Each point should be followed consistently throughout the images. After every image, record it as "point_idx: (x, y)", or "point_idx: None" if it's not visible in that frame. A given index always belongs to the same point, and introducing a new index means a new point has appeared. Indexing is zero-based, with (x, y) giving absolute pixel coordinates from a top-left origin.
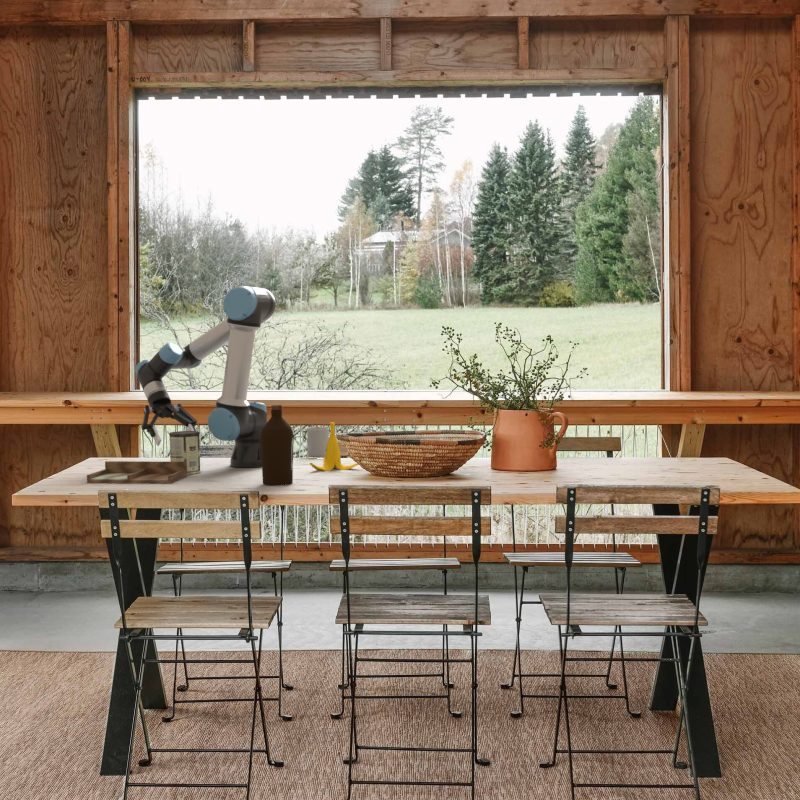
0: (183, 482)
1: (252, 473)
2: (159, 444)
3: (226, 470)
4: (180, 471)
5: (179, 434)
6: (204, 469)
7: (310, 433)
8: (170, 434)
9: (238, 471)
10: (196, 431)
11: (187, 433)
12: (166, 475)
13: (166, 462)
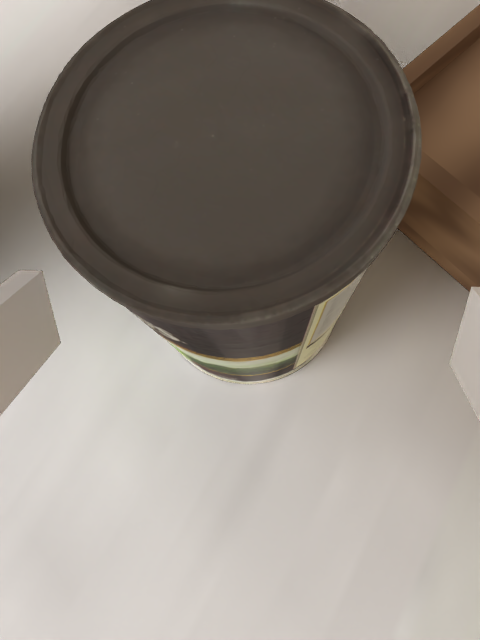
0: (434, 7)
1: (31, 54)
2: (454, 347)
3: (36, 223)
4: (405, 71)
5: (362, 25)
6: (86, 347)
7: None
8: (418, 150)
9: (24, 150)
10: (47, 140)
11: (242, 44)
12: (452, 154)
13: (446, 174)
